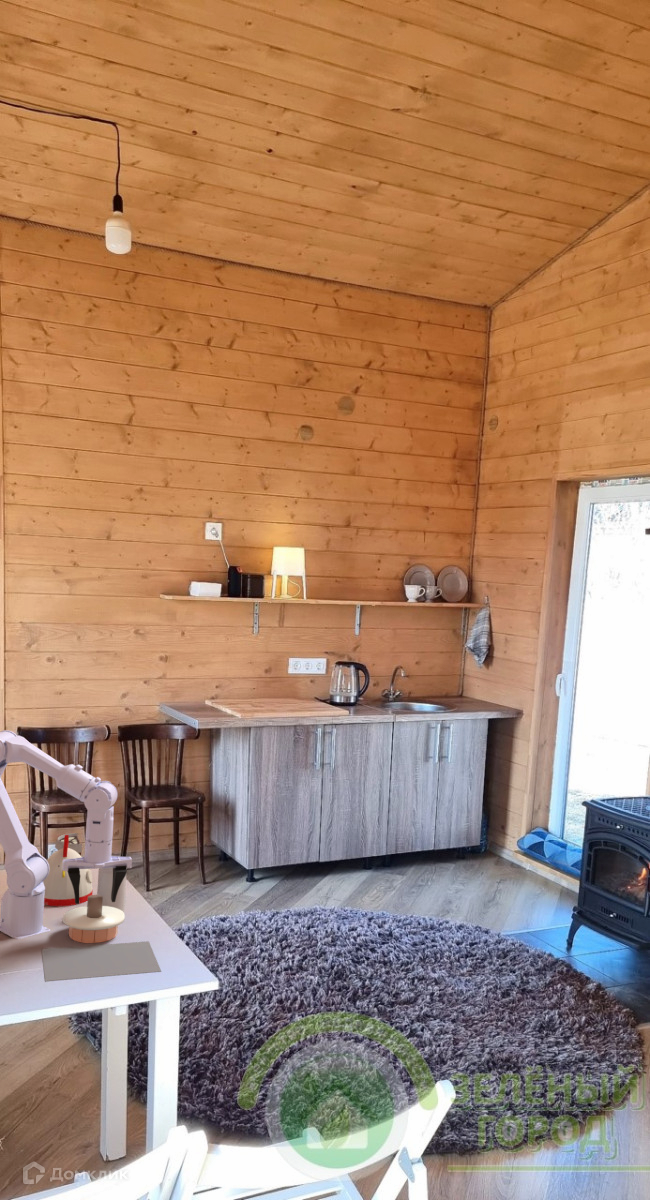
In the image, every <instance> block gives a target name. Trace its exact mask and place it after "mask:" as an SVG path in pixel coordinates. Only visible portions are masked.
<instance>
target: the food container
mask: <svg viewBox="0 0 650 1200" xmlns="http://www.w3.org/2000/svg"><path fill="white" fill-rule="evenodd" d="M78 834H79V833H78V832H74V833H65V834H62V835H60V836H58V837H57V839H56V842H55V845H54V848H55V849H56V850H57V851H58V850H59V849H62V848H63V846H64V837H65V835H69V844H68V848H70V849H73V850H74V851H76V852H77V853H78V854H79V855H80V856H81V857H82V850H83V849H82V848H83V847H82V846H83V843H80V840H79V838H78V837H79V836H78Z"/></svg>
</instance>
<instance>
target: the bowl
mask: <svg viewBox="0 0 650 1200" xmlns="http://www.w3.org/2000/svg"><path fill="white" fill-rule="evenodd" d="M118 929H119V925H118V926H115V927H112V928H108V929H102V930H80V929H75V928H71V927H69V926H68V937H69V938H70V939H71V940H73V941H75V942H78V943H82V944H83V943H85V944H99V943H105V942H108V941H110V940H113V939H115V938H116V936H117V935H118V932H119V930H118Z"/></svg>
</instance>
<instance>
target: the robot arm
mask: <svg viewBox="0 0 650 1200" xmlns="http://www.w3.org/2000/svg"><path fill="white" fill-rule="evenodd" d="M9 763H10V764H11V763H25V764H26V765H29V766H30V767H31V768H34V769H35V770H38V771H40V772H41V773H43V774H45V775H47V776H49V777H50V778H53V780H54V781H55V783H56V787H57V788H58V789H60V790H61V791H63V792H65V793H66V794H68V795H69V796H71V797H73V798H75V799H77V800H78V801H80V802H81V803H82V802H83V804H84V807H85V808H86V810H87V813H86V822H85V823H86V825H85V838H84V839H85V841H84V856H81V858H74V859H64V860H63V866H62V869H63V871H68V875H69V878H70V880H71V883H72V886H73V889H74V894H75V904H77V905H80V904H79V885H80V870H79V869H91V870H92V869H99V868H113V883H112V892H111V900H112V902H115V900H116V896H117V893H118V890H119V887H120V885H121V883H122V881H123V879H124V877H125V876H126V877H127V874H128V870H126V869H132V862H133V859H132V857H131V856H118V855H117V856H115V855H114V856H113V855H112V853H113V852H112V850H113V849H112V848H113V832H114V812H115V811H114V809H115V806H114V805H115V803H116V802H117V799H118V795H119V793H118V789H117V787H116V786H115V785H114V784H113V783H112V782H111V781H110V780H102V778H100V777H99V776H97V777H95V776H93V775H91V774H90V773H88V772H87V771H84V770H83V768H84V766H82V765H80V764H76V765H75V764H73V763H71V764H68V765H67V764H66V765H64V764H62V763H61V762H59V761H58V760H56V759H55V758H53V757H52V756H50V755H49V754H47V753H46V752H45V751H43V750H41V748H39V747H37V746H35V745H34V744H33V743H31V742H29V741H28V740H27V739H26V738H25V737H24V736H21V735H17V733H15V732H14V731H13V730H7V729H5V730H1V731H0V845H1V847H2V849H3V852H4V854H5V859H4V869H5V872H6V885H7V887H8V889H5V891H4V893H3V895H2V898H1V902H0V903H1V904H0V932H1V933H3V934H5V935H6V936H9V937H11V938H13V939H16V940H18V939H19V940H21V939H25V938H29V937H31V936H36V935H40V934H43V933H47V932H51V929H50V928H48V927H46V926H44V922H43V921H44V909H45V908H44V907H45V905H44V895H45V886H44V883H43V882H44V880H45V879H46V878H47V876H48V874H49V869H50V868H49V864H48V862H47V859H46V858H45V857H44V856H42V854H41V853H40V852H39V850H38V848H37V847H36V845H34V844H32V843H31V842H30V840H29V838H28V836H27V833H26V832H25V830H24V827H23V825H22V823H21V821H20V818H19V816H18V814H17V812H16V809H15V807H14V805H13V803H12V799H11V798H10V796H9V794H8V792H7V791H8V790H7V789H6V787H5V785H4V782H3V780H2V776H3V774H4V772H5V769H6V768H7V765H8V764H9Z"/></svg>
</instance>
